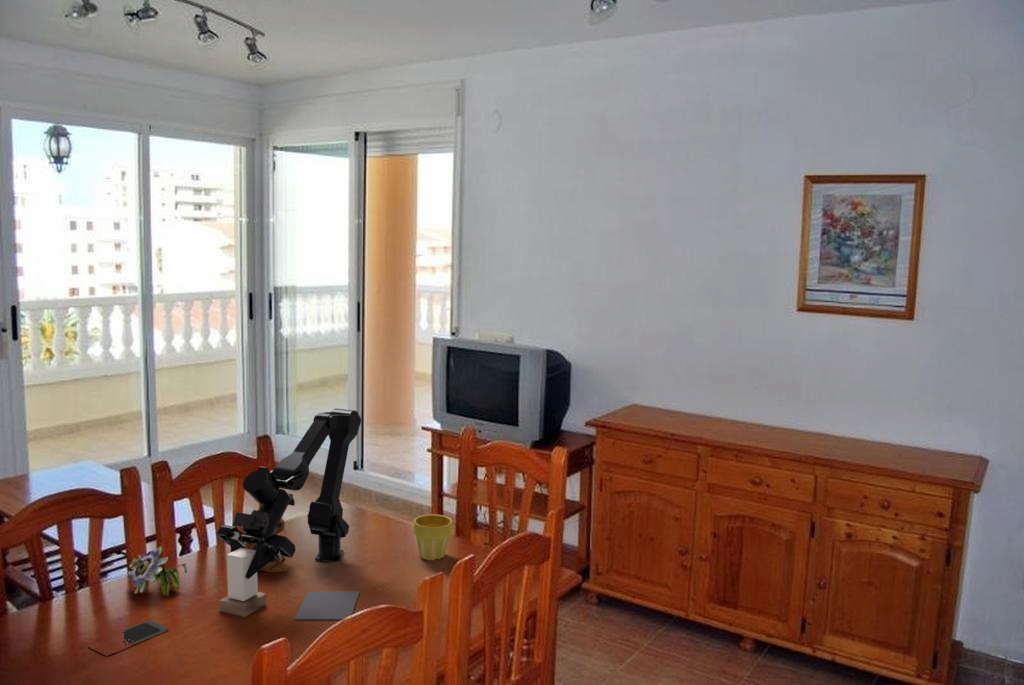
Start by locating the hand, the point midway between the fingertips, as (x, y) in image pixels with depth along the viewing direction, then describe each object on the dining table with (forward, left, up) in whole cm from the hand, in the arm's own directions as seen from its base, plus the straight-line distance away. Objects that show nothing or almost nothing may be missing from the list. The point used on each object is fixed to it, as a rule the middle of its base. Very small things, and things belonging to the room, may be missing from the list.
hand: (238, 576), depth 176 cm
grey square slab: (-1, +1, -8) cm, 8 cm away
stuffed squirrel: (-25, -2, -8) cm, 26 cm away
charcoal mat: (-2, +19, -8) cm, 21 cm away
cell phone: (+13, -19, -9) cm, 24 cm away
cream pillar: (-1, +1, -5) cm, 5 cm away
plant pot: (-32, +41, -8) cm, 53 cm away
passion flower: (-11, -23, -8) cm, 26 cm away
